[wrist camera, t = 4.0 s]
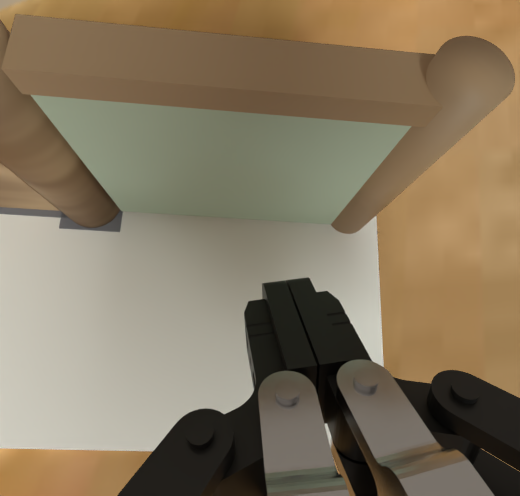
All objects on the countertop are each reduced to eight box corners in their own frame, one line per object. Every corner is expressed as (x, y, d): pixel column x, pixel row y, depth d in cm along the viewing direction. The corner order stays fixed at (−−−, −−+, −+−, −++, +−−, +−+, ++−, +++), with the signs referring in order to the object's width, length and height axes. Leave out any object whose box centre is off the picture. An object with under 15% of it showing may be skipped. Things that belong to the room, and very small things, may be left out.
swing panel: (365, 198, 17) (508, 39, 8) (366, 235, 17) (520, 108, 8) (126, 181, 17) (6, -11, 8) (120, 219, 16) (-14, 61, 7)
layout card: (368, 98, 20) (370, 93, 19) (384, 454, 15) (388, 456, 15) (-28, 63, 18) (-32, 58, 18) (-138, 443, 14) (-147, 445, 14)
